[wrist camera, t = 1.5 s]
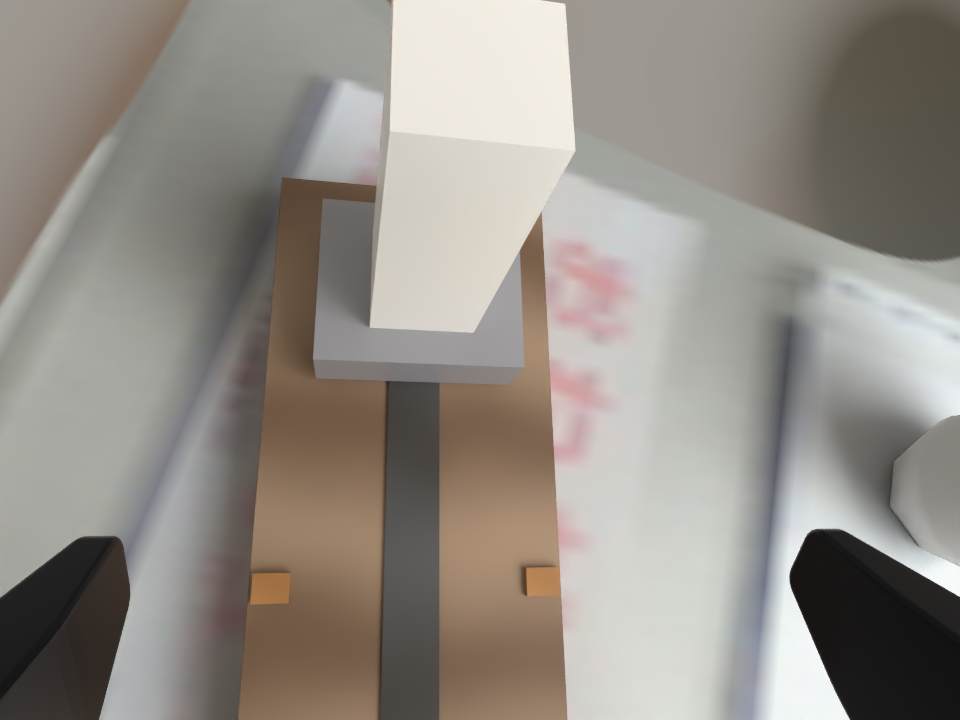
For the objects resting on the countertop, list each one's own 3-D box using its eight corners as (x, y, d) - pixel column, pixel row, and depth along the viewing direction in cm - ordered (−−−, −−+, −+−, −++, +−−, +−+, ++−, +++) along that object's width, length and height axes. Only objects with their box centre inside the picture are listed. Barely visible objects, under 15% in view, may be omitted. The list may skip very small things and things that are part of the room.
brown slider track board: (548, 749, 20) (571, 771, 18) (243, 773, 18) (230, 799, 16) (526, 227, 25) (542, 197, 23) (287, 207, 24) (281, 174, 22)
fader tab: (508, 384, 21) (666, 213, 11) (316, 378, 20) (284, 178, 9) (503, 244, 22) (639, -28, 12) (324, 230, 21) (305, -82, 11)
